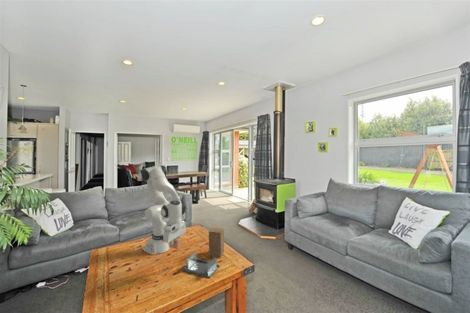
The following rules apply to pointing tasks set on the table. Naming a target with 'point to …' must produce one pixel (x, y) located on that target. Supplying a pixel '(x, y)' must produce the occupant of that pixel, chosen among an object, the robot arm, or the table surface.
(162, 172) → the robot arm
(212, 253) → the wooden block
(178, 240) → the rust block
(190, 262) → the sliding jaw
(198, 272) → the vise base
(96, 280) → the table surface
